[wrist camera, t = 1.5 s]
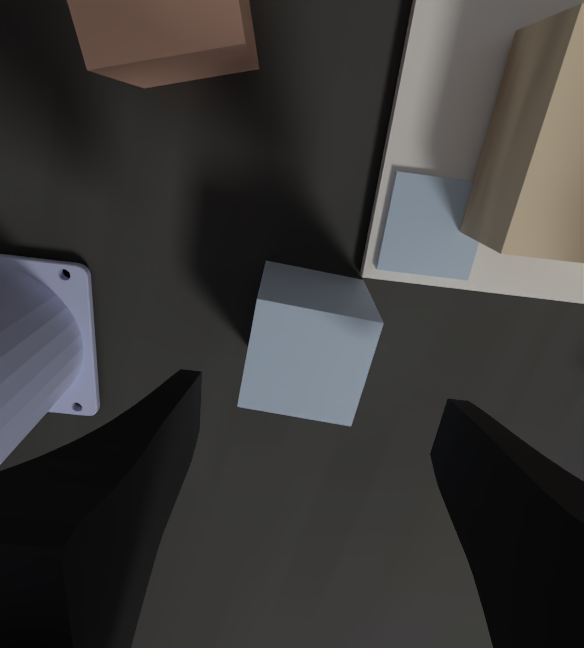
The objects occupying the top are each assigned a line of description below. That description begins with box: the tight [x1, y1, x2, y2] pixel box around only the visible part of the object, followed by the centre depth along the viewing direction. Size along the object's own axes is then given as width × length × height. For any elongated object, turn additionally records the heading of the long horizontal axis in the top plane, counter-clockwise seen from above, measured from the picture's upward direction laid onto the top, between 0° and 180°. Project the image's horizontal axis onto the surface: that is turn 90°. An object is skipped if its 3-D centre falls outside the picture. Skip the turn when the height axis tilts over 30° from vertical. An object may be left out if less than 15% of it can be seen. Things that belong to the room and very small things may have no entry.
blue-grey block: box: [237, 261, 384, 426], centre depth 18 cm, size 4×4×5 cm
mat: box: [360, 0, 584, 304], centre depth 17 cm, size 12×12×1 cm
